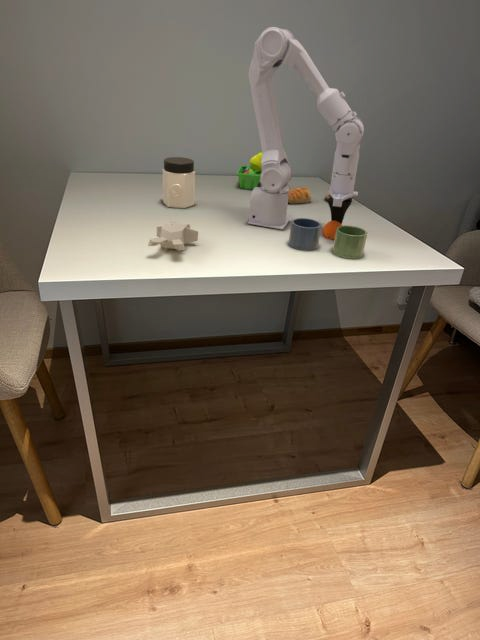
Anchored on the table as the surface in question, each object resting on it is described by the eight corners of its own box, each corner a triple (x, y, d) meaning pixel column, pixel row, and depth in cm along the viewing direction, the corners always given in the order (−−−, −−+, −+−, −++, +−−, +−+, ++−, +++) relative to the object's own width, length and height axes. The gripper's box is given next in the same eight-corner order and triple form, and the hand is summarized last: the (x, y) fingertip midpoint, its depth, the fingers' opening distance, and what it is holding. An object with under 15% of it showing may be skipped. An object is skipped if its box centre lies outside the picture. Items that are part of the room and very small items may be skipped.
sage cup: (330, 255, 108) (334, 232, 105) (334, 245, 113) (338, 223, 111) (361, 261, 106) (366, 238, 103) (363, 250, 112) (368, 228, 109)
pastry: (290, 206, 138) (292, 193, 136) (275, 200, 143) (276, 187, 141) (312, 202, 144) (314, 189, 142) (297, 196, 148) (298, 184, 146)
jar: (160, 206, 129) (159, 162, 123) (165, 198, 136) (165, 155, 130) (192, 209, 129) (193, 165, 123) (196, 201, 136) (197, 158, 130)
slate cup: (285, 247, 110) (288, 225, 107) (291, 237, 116) (294, 216, 113) (315, 252, 108) (319, 230, 106) (319, 242, 114) (323, 221, 111)
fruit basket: (240, 180, 160) (242, 146, 154) (266, 183, 159) (269, 148, 153) (235, 189, 150) (238, 152, 144) (263, 192, 149) (266, 155, 144)
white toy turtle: (202, 221, 109) (188, 236, 96) (201, 242, 111) (187, 260, 98) (162, 217, 110) (143, 231, 96) (162, 238, 112) (143, 255, 98)
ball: (321, 240, 121) (319, 233, 116) (327, 222, 121) (326, 215, 116) (339, 245, 119) (338, 239, 115) (346, 228, 120) (346, 220, 115)
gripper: (358, 181, 105) (349, 238, 112) (363, 167, 117) (354, 220, 124) (327, 177, 107) (320, 234, 114) (335, 165, 119) (328, 216, 126)
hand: (336, 226), depth 119 cm, fingers closed, pressing on ball
